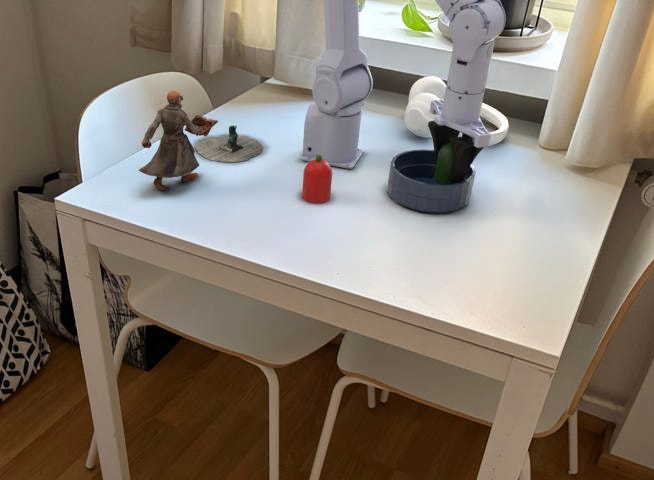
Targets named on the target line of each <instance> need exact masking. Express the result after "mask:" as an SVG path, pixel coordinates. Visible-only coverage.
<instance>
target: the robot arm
mask: <svg viewBox="0 0 654 480" xmlns="http://www.w3.org/2000/svg"><path fill="white" fill-rule="evenodd" d="M434 1H435V3H436V4H437V5H438V7H439V9H441V11H442V13H443V14H444V16H445V17H446V18H447V20H448V21H449V22H448V32H449V33H448V34H449V37H450V39H451V42H452V49H451V50H452V51H451V56H450V63H449V69H448V75H447V80H446V84H445V85H446V90H445V96H444V100H432V101H431V106H430V113H431V114H437V116H436V117H435V120H434V121H430V122H428V127H429V130H430V132H431V140H432V146H433V150H434V159H435V166H436V163H437V157H438V153H439V151H440V149H441V148H442V147H443V146H444V145H445V144H447V143H450V144H451V149H452V166H451V180H452V181H458V180H464V178H465V176H466V174H467V172H468V170H469V168H470V166H471V164H472V165H473V162H474V161H475V160H476V158H477V157H478V155H479V154H480V153H481V152H482V150H483V149H485V148H487V147H489V141H490V137H491V134H490V133H491V132H489V131H488V130H487V129H486V127H485V125H484V123H483V121H482V119H481V118H480V116H479V115H480V111H481V106H482V103H483V100H484V96H485V91H486V87H487V81H488V77H489V72H490V67H491V62H492V57H493V53H494V52H493V51H494V47H495V42H496V40H495V39H497V37H499V36H500V35H501V34H502V32H503V31H504V29H505V26H506V22H507V16H506V11H505V8H504V7H503V4H502V1H501V0H434ZM359 5H360V3H359V0H323V12H324V13H323V14H324V15H323V16H324V17H323V18H324V38H325V39H324V40H325V50H324V52H323V54H322V55H321V57H320V58H319V60H318V61H317V63H316V65H315V77H314V81H313V83H312V87H311V93H312V98H313V101H314V103H310V104H309V106H308V108H307V109H306V113H305V119H304V125H303V141H302V156H301V157H300V159H301V160H302V161H304V162H308V163H309V162H310V161H312V160H314V159H316V155H322V160H324V161H326V162H327V163H328V164H329V165H330V167H331V166H332V167H337V168H343V169H347V170H353V169H354V168H355V166H356V165H357V164H358V161H359V159H360V158H361V157H362V155H363V154H364V150H363V149H360V148H359V139H360V131H361V120H362V111H363V107H364V105H365V100H366V99H367V98H368V97H370V95H371V93H372V91H373V86H374V85H373V84H374V82H373V76H372V74H371V71H370V67H369V57H368V55H367V54H366V53H365V52H364V51H363V50H362V49H361V48H360V17H359V16H360V14H359V11H360V9H359ZM460 132H461V133H462V137H458V135H459V133H460Z"/></svg>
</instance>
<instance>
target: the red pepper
mask: <svg viewBox="0 0 654 480" xmlns="http://www.w3.org/2000/svg"><path fill="white" fill-rule="evenodd" d="M302 175H303V176H302V189H301V190H302V191H301V197H302V199H303V200H304V201H306V202H307V203H310V204H325V203H327V202H329V201H330V199H331V193H332V181H333V170H332V167H331V165H329V164H328V163H327V162H326V161H324V160H322V155H316V159H314V160H312V161H310V162H309V161H308V162H307V164H306V165H304V169H303V174H302Z"/></svg>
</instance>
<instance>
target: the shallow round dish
mask: <svg viewBox="0 0 654 480" xmlns="http://www.w3.org/2000/svg"><path fill="white" fill-rule="evenodd" d="M389 163H390V164H389V171H388V179H387V185H386V188H387V193H388V195H389V196H390V197H391V198H392V199H393V200H394V201H395V202H397V203H398V204H399V205H401V206H402V207H403V206H404V207H406V208H408V209H410V210H413V211H417V212H422V213H430V214H434V213H435V214H443V213H449V212H453V211H457V210H460V209H462V208H464V207H466V205H468V204H469V203H470V200H471V196H472V191H473V187H474V183H475V178H476V173H477V171H476V168H475V166H474V165H473V163H472V164H471V166H470V168H469V170H468V172H467V174H466V176H465V178H464V180H463V181H462V182H461V183H456V184H448V185H439V184H437V183H436V182H435V181H434V174H435V168H436V166H435V159H434V149H425V148H424V149H422V148H421V149H411V150H405V151H402V152H399V153H397V154H396V155H394V156H393V157H392V159H391V161H390V162H389Z"/></svg>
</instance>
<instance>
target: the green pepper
mask: <svg viewBox="0 0 654 480" xmlns="http://www.w3.org/2000/svg"><path fill="white" fill-rule="evenodd" d="M451 166H452V149H451V144H450V143H447V144H445V145H444V146H443V147H442V148H441V149H440V151H439V153H438V157H437V163H436V168H435V174H434V181H435V182H436V183H437V184H439V185H448V184H456V183H461V182H462V181H463V180H458V181H452V180H451Z"/></svg>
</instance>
